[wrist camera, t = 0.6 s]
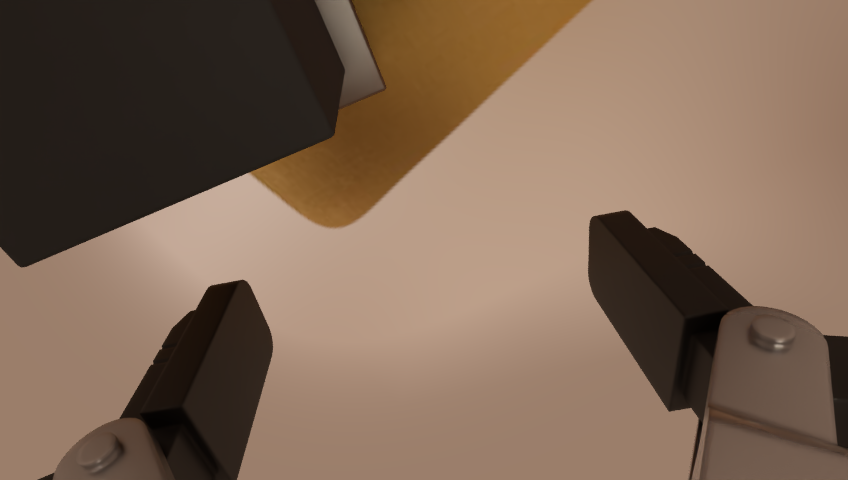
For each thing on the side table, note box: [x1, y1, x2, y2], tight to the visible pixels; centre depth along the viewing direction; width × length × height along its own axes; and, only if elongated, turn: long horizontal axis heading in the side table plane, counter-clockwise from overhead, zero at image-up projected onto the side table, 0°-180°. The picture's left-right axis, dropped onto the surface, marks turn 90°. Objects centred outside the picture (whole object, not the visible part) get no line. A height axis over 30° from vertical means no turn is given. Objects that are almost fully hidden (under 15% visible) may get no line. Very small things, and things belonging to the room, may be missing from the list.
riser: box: [315, 0, 386, 110], centre depth 20 cm, size 5×7×14 cm
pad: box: [0, 0, 345, 267], centre depth 10 cm, size 3×5×9 cm, turn 111°
